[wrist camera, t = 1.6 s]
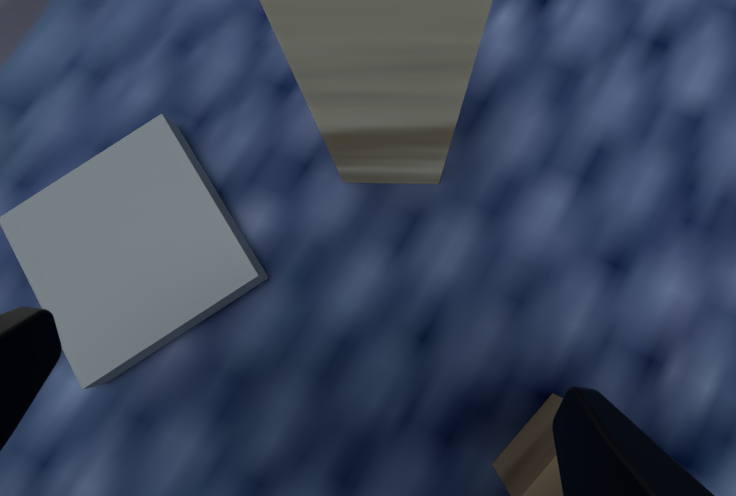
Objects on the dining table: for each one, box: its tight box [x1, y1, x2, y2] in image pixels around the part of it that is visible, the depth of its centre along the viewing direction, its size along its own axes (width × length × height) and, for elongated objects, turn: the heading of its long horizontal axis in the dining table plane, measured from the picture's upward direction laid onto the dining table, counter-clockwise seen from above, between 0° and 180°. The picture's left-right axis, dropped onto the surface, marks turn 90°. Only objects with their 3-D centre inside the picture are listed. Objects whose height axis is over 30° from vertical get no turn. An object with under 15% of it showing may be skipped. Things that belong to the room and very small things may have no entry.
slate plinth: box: [0, 114, 268, 389], centre depth 20 cm, size 9×9×2 cm
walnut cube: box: [492, 393, 563, 496], centre depth 17 cm, size 4×4×4 cm
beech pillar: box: [260, 0, 493, 184], centre depth 15 cm, size 4×4×13 cm
